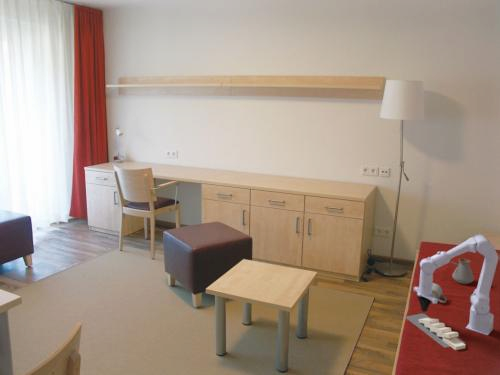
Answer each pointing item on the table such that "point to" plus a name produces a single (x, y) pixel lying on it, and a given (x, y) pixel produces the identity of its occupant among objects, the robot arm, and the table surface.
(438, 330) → the domino
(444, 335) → the domino
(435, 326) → the domino
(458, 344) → the domino
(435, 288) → the ceramic mug
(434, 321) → the domino
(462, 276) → the coffee pot
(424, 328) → the mat
